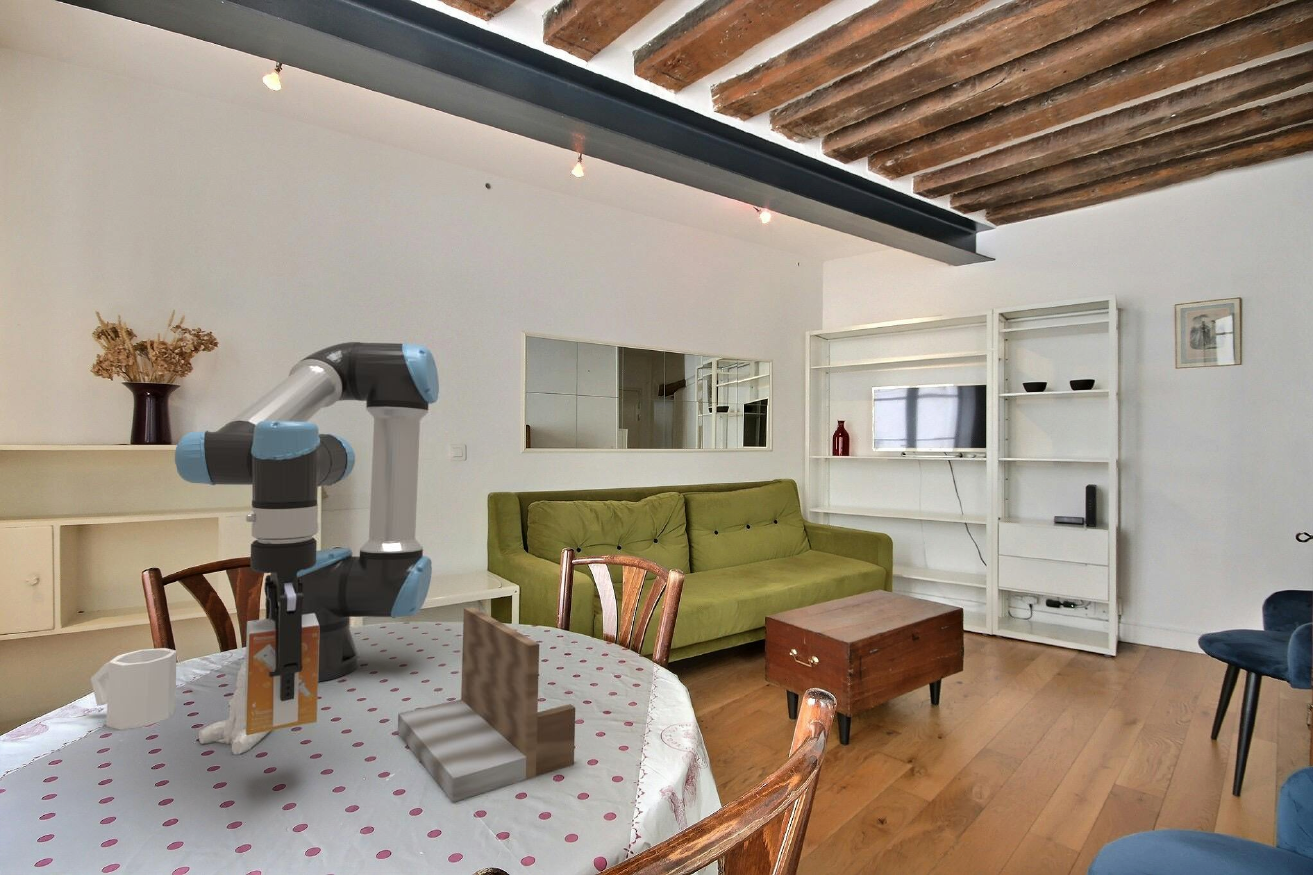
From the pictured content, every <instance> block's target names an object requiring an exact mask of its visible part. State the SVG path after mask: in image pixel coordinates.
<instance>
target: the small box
mask: <svg viewBox="0 0 1313 875" xmlns="http://www.w3.org/2000/svg"><path fill="white" fill-rule="evenodd" d="M319 629H320V626H319V623H318V620H317V618H316V615H315V613H311V614H304V615H302V665H303V668H302V670H301V672H299V681H298V721H297V722H292V723H288V724H283V725H279V726H274V727H273V680H274V677H269V672H274V671H275V669H276V655H275V643H276V630H275V622H274V621H273V620H271V619H266V618H265V619H253V620H247V621H246V643H245V644H246V648H245V649H246V651H245V660H246V675H245V727H246V735H251V734H255V733H260V732H265V731H269V732H270V731H275V730H280V729H286V728H291V727H295V726H297V727H298V726H301V725H306V724H307V725H308V724H315V723H317V720H318V700H319V699H318V698H319V696H318V694H319V682H318V667H319Z"/></svg>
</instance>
